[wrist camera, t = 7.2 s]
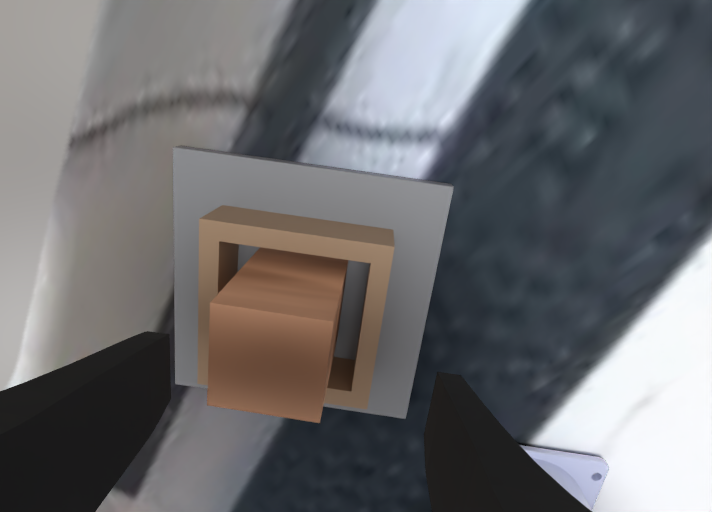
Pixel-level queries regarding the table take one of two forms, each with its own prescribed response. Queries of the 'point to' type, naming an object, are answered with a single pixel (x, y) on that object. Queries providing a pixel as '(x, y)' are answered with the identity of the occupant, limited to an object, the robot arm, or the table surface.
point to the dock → (315, 237)
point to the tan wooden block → (276, 334)
